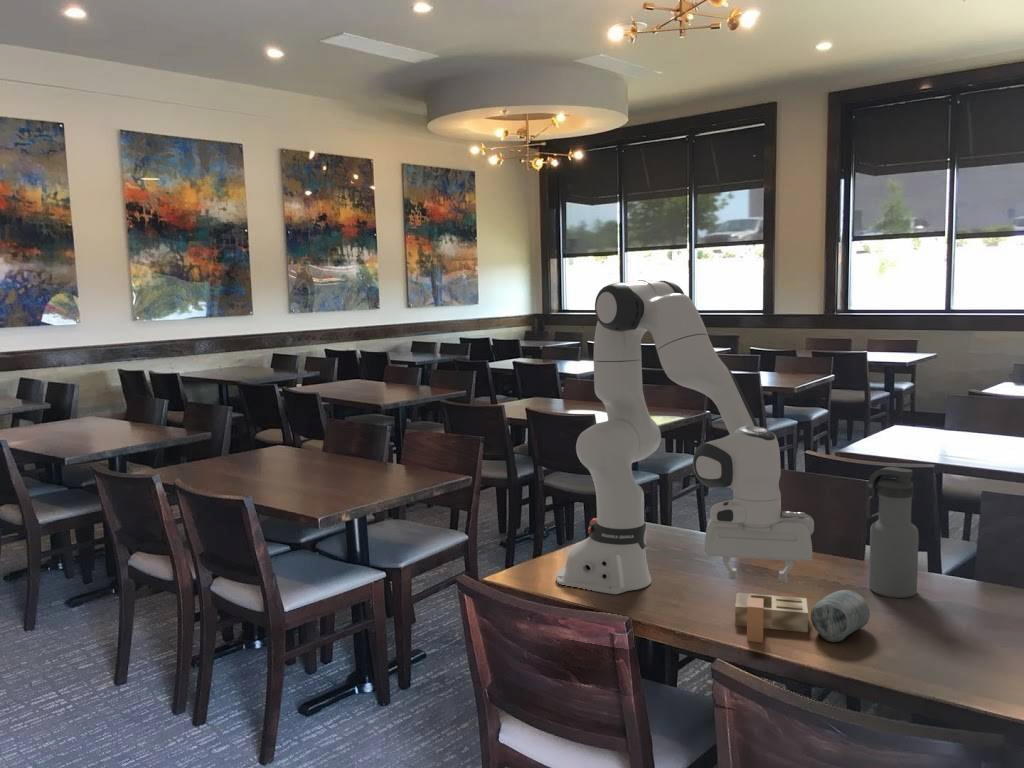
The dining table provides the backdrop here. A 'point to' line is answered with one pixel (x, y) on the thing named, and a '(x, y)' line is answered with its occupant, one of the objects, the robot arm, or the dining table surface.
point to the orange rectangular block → (755, 619)
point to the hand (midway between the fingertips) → (757, 579)
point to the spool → (839, 615)
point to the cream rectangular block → (775, 612)
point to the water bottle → (893, 535)
